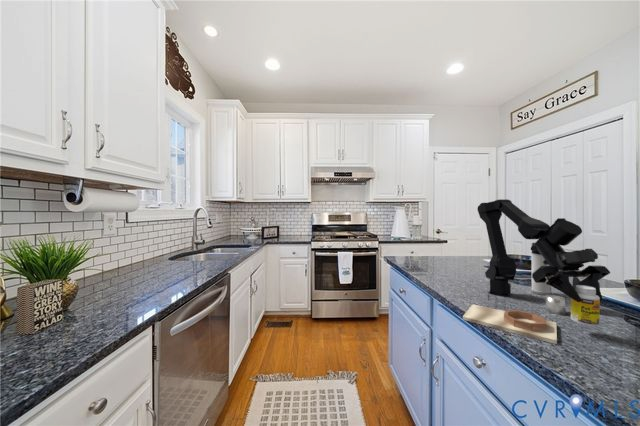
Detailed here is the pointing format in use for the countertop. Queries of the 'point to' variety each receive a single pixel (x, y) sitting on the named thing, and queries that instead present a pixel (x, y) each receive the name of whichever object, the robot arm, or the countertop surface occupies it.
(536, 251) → the travel mug
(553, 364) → the countertop surface
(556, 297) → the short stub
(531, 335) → the holder board
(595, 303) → the supplement bottle
